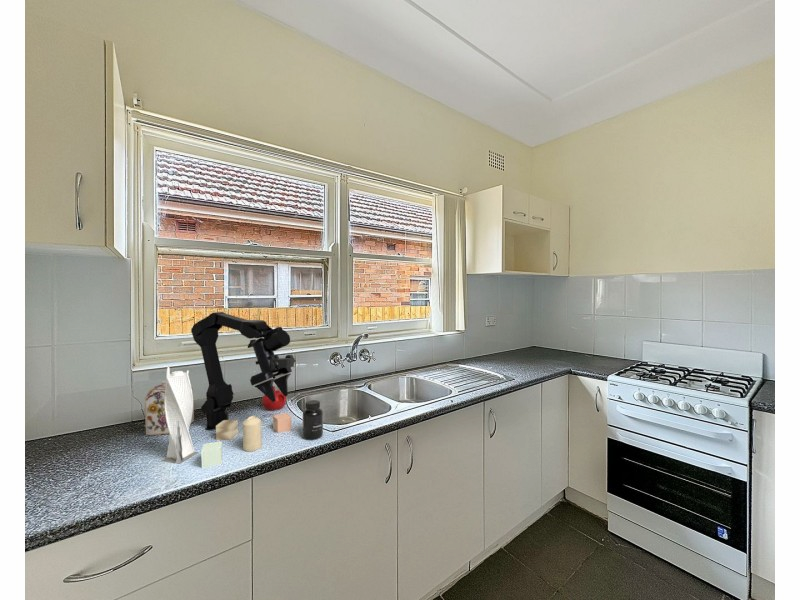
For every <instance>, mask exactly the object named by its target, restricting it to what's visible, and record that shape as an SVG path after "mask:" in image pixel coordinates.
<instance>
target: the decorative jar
mask: <svg viewBox="0 0 800 600" xmlns="http://www.w3.org/2000/svg"><path fill="white" fill-rule="evenodd" d="M166 382H167V379H165V380H163V381H161V384H158V385H155V386H153V387H151V388H150V389H149V391H148V392H147V394H146V395H145V397H144V420H145V436H147V435H150V436H160V435H161V434H165V435H170V433H169V430H168V426H167V422H166V416H165V407H164V399H165V388H166ZM191 388H192V394H193V395H194V391H193V390H194V389H193V387H192V386H191ZM194 407H195V406H194V404H193V411H192V418H191V422H190V425H192V424H193V423H194V422H193V421H195V411H194V410H195V408H194ZM192 422H193V423H192ZM191 423H192V424H191ZM161 436H162V435H161Z"/></svg>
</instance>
